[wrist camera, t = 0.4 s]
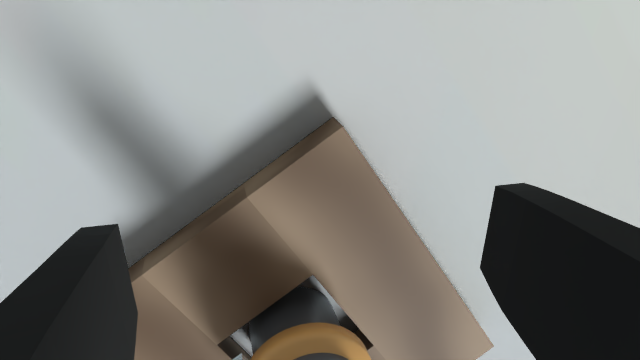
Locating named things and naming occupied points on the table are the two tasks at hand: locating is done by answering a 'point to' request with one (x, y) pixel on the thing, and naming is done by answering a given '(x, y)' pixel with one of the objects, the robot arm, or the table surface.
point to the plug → (303, 330)
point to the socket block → (302, 263)
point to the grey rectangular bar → (240, 357)
